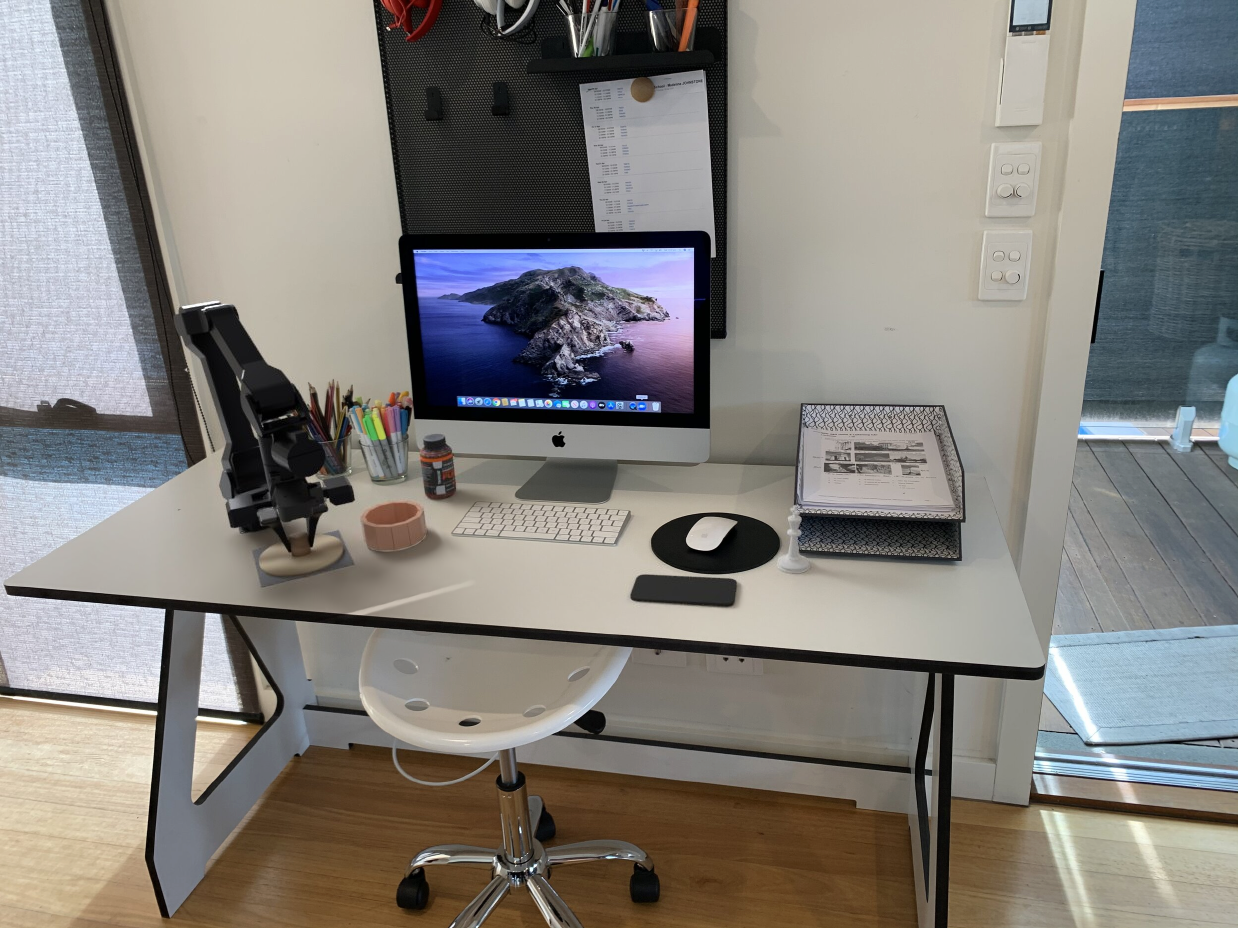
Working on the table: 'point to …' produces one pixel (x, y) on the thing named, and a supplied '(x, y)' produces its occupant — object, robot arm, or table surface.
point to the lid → (301, 555)
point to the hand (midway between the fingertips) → (300, 549)
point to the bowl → (393, 525)
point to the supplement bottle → (437, 467)
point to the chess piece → (793, 548)
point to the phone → (684, 590)
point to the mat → (270, 580)
